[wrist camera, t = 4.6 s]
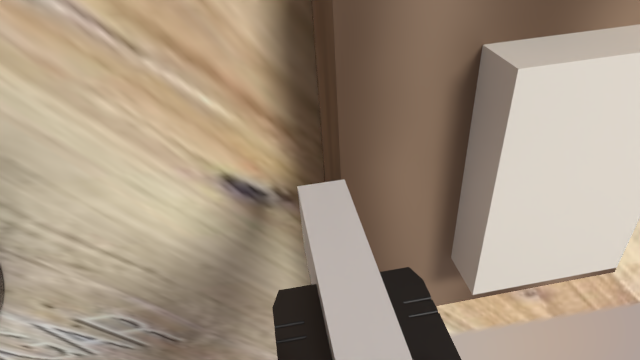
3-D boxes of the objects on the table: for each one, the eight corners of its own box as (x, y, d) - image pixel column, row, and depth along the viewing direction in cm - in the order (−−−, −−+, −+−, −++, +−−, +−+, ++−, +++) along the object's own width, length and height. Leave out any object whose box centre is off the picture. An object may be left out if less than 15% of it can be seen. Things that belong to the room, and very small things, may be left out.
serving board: (330, 259, 23) (347, 322, 20) (306, -70, 14) (330, -53, 11) (562, 218, 24) (614, 272, 21) (670, -106, 16) (785, -99, 12)
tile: (451, 257, 19) (472, 295, 17) (482, 44, 13) (518, 68, 12) (583, 234, 19) (616, 267, 18) (663, 21, 14) (721, 41, 12)
